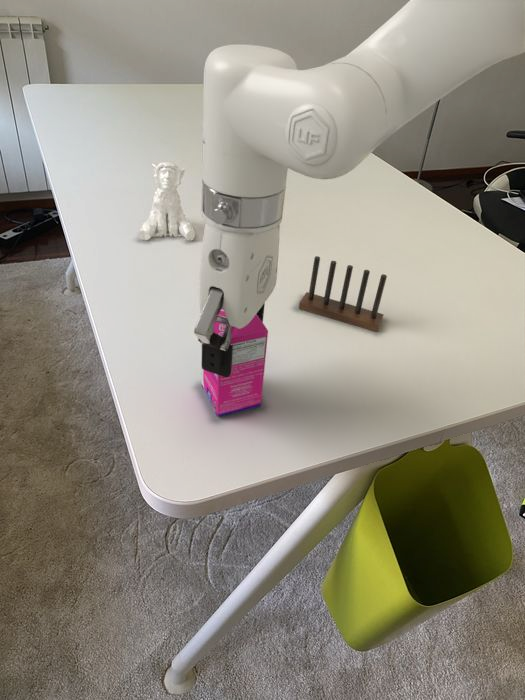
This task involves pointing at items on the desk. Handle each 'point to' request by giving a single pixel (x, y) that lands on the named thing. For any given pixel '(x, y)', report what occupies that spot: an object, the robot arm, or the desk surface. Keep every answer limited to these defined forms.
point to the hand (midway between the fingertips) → (233, 348)
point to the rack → (343, 300)
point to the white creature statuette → (167, 206)
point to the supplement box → (239, 370)
